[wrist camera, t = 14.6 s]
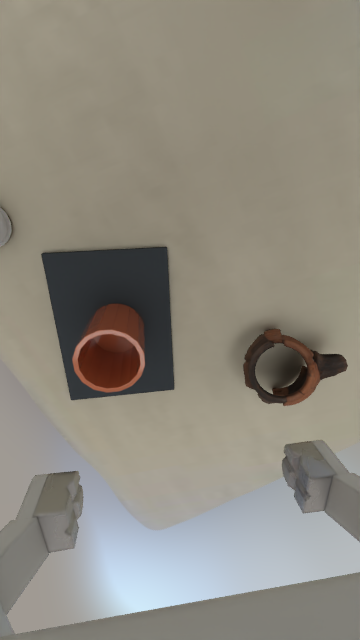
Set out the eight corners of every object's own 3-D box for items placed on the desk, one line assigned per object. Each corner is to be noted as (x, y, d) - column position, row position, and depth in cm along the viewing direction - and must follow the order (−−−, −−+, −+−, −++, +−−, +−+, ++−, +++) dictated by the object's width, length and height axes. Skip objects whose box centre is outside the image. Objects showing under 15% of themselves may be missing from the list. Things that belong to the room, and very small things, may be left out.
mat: (42, 253, 30) (41, 253, 29) (166, 246, 31) (167, 247, 30) (72, 397, 36) (70, 400, 35) (173, 387, 37) (174, 389, 37)
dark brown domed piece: (253, 401, 40) (253, 420, 32) (236, 337, 41) (231, 340, 33) (344, 384, 37) (368, 399, 29) (323, 315, 38) (341, 312, 30)
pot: (85, 305, 31) (67, 332, 24) (142, 301, 32) (142, 327, 25) (93, 355, 34) (78, 395, 26) (146, 351, 34) (147, 388, 27)
